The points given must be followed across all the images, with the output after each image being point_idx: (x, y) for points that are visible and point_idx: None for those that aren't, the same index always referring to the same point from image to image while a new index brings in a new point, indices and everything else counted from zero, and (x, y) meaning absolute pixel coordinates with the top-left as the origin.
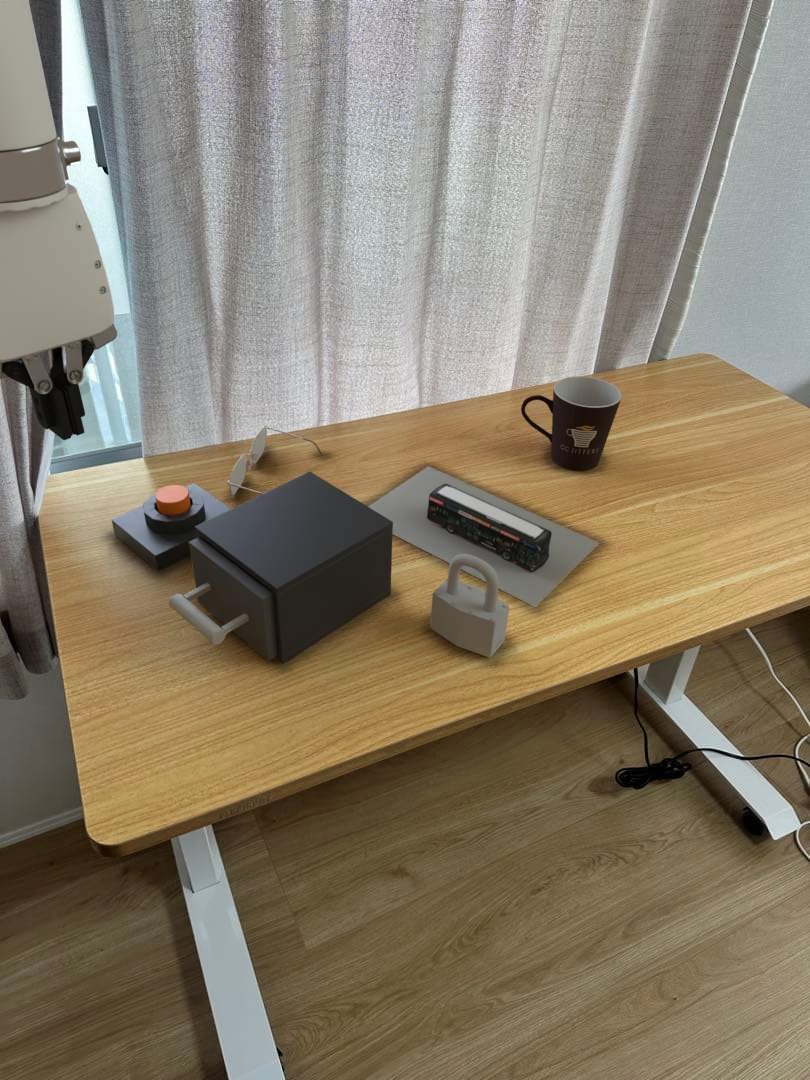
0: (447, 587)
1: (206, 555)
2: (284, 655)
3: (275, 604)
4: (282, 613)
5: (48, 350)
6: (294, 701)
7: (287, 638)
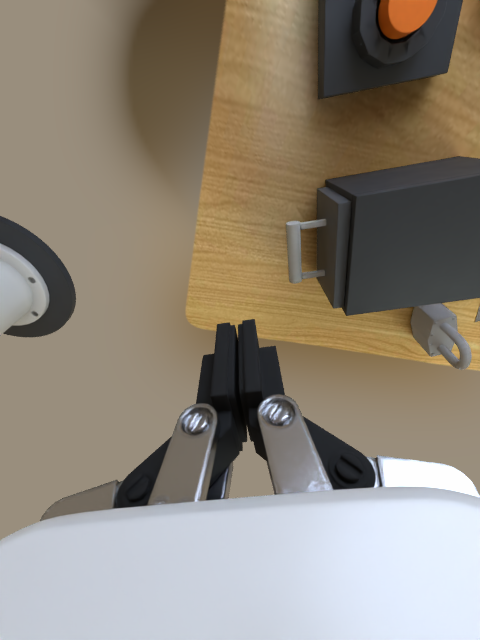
0: (443, 327)
1: (337, 235)
2: None
3: None
4: None
5: (268, 454)
6: (308, 304)
7: None
